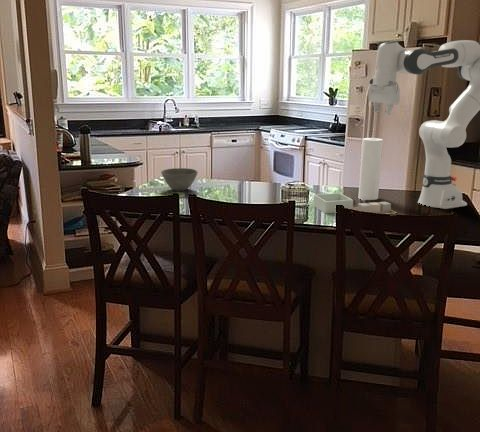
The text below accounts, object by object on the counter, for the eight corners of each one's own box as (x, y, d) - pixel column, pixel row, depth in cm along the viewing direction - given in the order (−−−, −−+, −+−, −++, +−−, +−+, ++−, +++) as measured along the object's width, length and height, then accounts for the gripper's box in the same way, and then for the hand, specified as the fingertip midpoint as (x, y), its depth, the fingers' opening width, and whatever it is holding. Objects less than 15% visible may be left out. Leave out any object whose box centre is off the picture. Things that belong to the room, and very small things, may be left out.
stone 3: (384, 210, 233) (385, 201, 232) (390, 212, 230) (391, 203, 229) (377, 210, 232) (378, 202, 231) (382, 213, 228) (383, 204, 227)
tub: (339, 205, 243) (339, 193, 242) (352, 213, 231) (353, 199, 229) (313, 207, 240) (313, 194, 238) (325, 214, 228) (325, 201, 226)
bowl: (196, 194, 261) (196, 175, 258) (159, 194, 261) (158, 174, 259) (199, 186, 279) (199, 167, 276) (165, 185, 279) (164, 167, 277)
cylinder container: (363, 195, 262) (368, 136, 254) (381, 198, 256) (386, 138, 248) (354, 199, 255) (359, 138, 247) (372, 202, 249) (377, 140, 241)
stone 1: (365, 211, 231) (365, 202, 230) (369, 213, 227) (370, 205, 226) (357, 212, 229) (357, 203, 228) (361, 214, 226) (362, 205, 225)
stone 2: (375, 210, 232) (376, 202, 231) (379, 213, 228) (380, 204, 227) (367, 211, 231) (368, 202, 230) (371, 213, 227) (372, 205, 226)
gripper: (405, 81, 213) (401, 116, 217) (379, 80, 232) (376, 111, 236) (391, 81, 212) (388, 116, 215) (367, 80, 231) (364, 111, 234)
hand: (382, 113), depth 226 cm, fingers open, 8 cm apart
